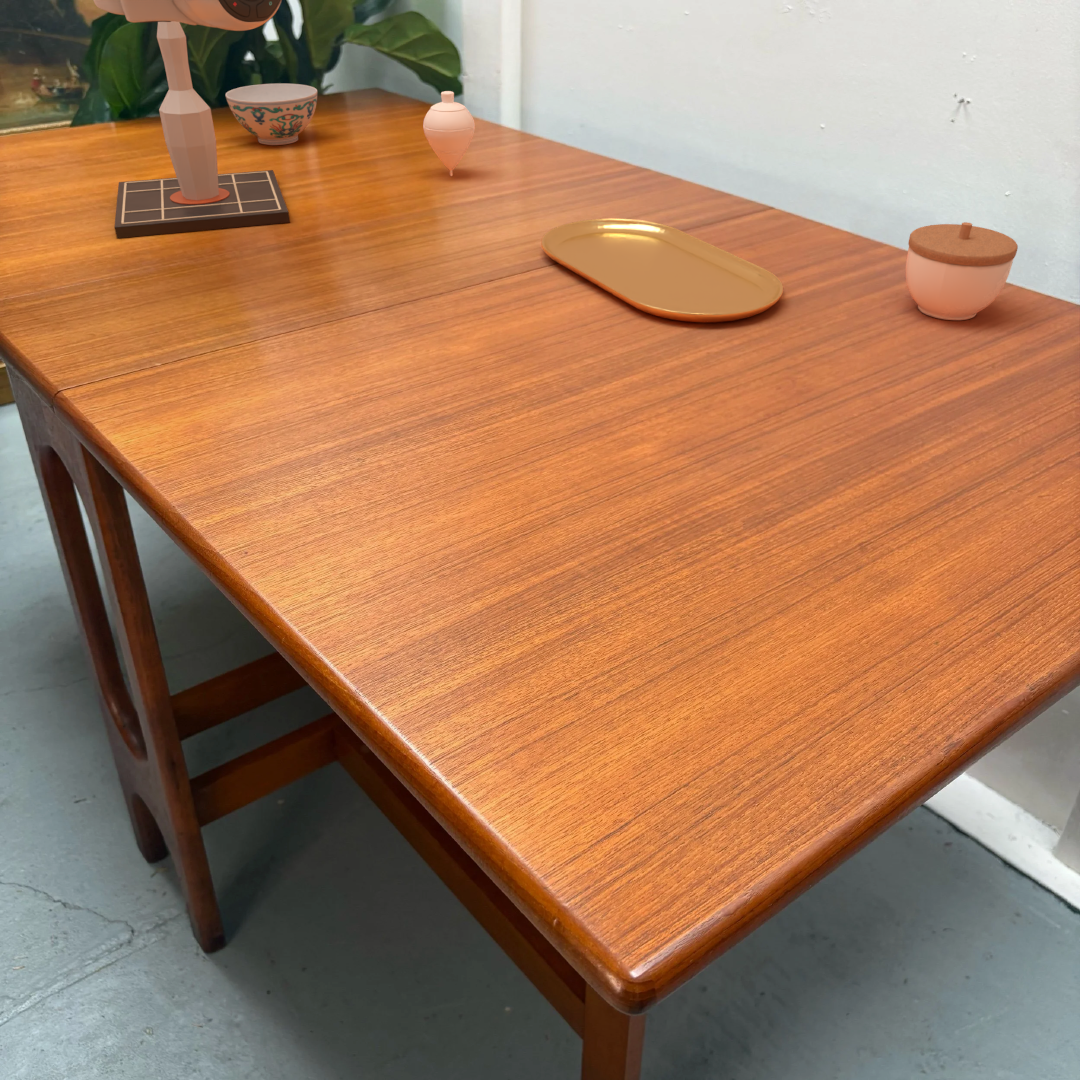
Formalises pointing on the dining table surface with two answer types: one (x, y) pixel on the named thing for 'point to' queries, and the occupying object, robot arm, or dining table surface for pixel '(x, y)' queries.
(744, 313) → the serving platter
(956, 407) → the dining table surface
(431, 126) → the spinning top
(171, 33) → the faceted bottle
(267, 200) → the grid board
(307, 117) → the chinaware
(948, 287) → the trinket box
